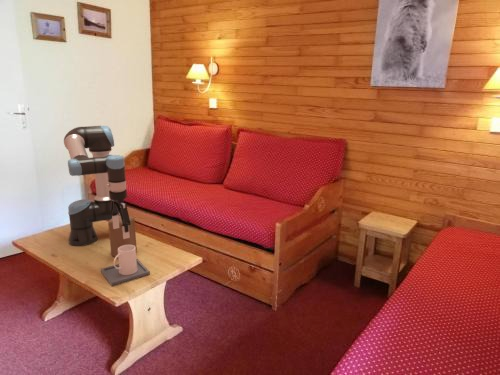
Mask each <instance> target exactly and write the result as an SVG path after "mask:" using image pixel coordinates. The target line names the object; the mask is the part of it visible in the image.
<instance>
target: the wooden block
mask: <svg viewBox="0 0 500 375" xmlns="http://www.w3.org/2000/svg"><path fill="white" fill-rule="evenodd" d="M118 216H119V228H117V229H113V219H111V220H108V221H107V222H108V223H107V224H108V233H109V234H108V235H109V245H110V246H109V247H110V255H111V257H114V258H115V257H116V256H117V255H118V248H119V247H120V246H123V245H134V246H135V248H136V251H137V248H138V247H137V237H136V235H137V234H136V222H135V220H136V219H135V217H134V216H130V215H129V219H130V223H131V225H129V235H130V238H126V239H123V229H122V225H123V223H122V220H121V217H120V214H119V215H118Z"/></svg>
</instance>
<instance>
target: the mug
mask: <svg viewBox="0 0 500 375" xmlns="http://www.w3.org/2000/svg"><path fill="white" fill-rule="evenodd" d="M117 259H118V264H119V268H118V267H116V266H115V265H116V260H117ZM136 259H137V250H136V248H135V246H134V245H123V246H120V247H119V248H118V255H117V256H116V257H114V259H113V265H114V267H115V268H116V269H119V273H120V274H122V275H131V274H134V273H136V272H137V270H138V268H137V261H136Z"/></svg>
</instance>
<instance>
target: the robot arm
mask: <svg viewBox="0 0 500 375" xmlns="http://www.w3.org/2000/svg"><path fill="white" fill-rule="evenodd" d="M63 144H64V147H65V148H66V150H68V154H69V157H70V159H68V160H67V167H68V173H69V176H72V177H73V176H74V177H75V176H76V177H77V176H78V177H80V176H86V175H87V176H88V175H94V181H95V191H96V192H95V193H96V195H95V196H94V197H93V198H94V199H93V201H91V200H90V199H87V198H86V199H85V198H83V199H78V200H75V201H73V202H71V203H70V204H69V205H68V208H67V210H68V215H69V216H68V218H69V225H70V226H69V227H70V231H69V236H68V244H69V245H71V246H75V247H81V246H87V245H91V244H94V243H95V242H97V240H98V234H97V232H96V229H95V228H94V225H93V224H94V223H98V222H103V221H110V220H111V219H113V229H117V228H119V216H118V215H120V217H121V220H122V223H123V225H122V229H123V239H126V238H130V235H129V225H131V223H130V219H129V216H130V215H129V210H128V206H127V205H128V204H127V202H126V203H125V201H124V200H125V199H127V197H128V193H127V192H128V191H127V180H126V162H125V157H124V156H123V155H120V154H110V153H111V151H112V150H113V149H112V148H114V147H115V138H114V135H113V132H112V130H111V128H110V126H108V125H91V126H77V127H74V128H72V129H70V130H69V131H68V132H67V133H66V134H65V136H64V138H63ZM87 149H88V151H89V153H91V154H92V157H89V154H88V153H87Z"/></svg>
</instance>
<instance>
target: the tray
mask: <svg viewBox="0 0 500 375" xmlns="http://www.w3.org/2000/svg"><path fill="white" fill-rule="evenodd" d="M136 261H137V268H138V270H137V272H136V273H134V274H131V275H122V274H120V273H119V269H116V268H115V267H114V264H113V265H110V266H107V267H102V268H100V273H101V275H103V277H104V278H105V280H106V281H107V283H108V284H109V285H110V286H111V287H115V286H118V285H121V284H124V283H127V282H128V283H129V282H131V281H135V280H138V279H141V278H144V277H147V276H150V275H151V272H150V270H149V269H148V268H147V267H146V266H145V265H144V264H143V263H142V262H141V261H140V260H139V259H138V258H136ZM115 266H116V267H118V268H119V263H115Z"/></svg>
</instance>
